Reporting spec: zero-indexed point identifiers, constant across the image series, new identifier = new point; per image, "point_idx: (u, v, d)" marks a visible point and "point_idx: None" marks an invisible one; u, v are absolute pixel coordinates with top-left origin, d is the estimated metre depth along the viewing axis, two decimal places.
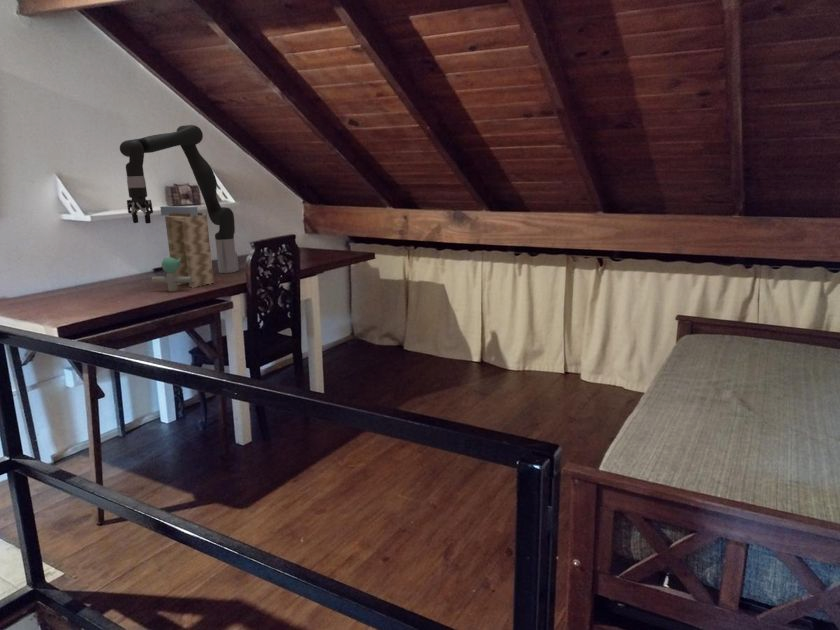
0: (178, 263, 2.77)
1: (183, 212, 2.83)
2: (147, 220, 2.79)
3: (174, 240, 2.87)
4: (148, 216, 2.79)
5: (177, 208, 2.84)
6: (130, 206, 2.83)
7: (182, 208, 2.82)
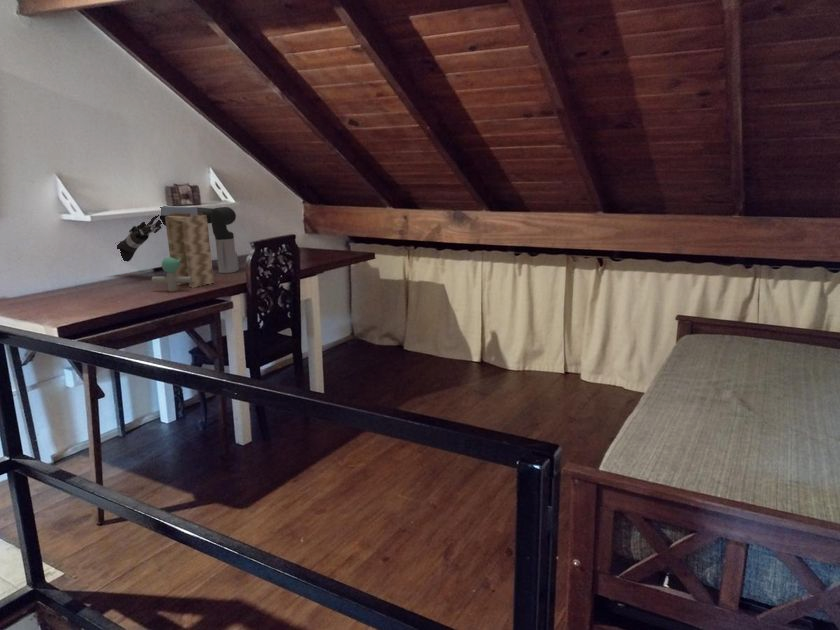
0: (178, 263, 2.77)
1: (183, 212, 2.83)
2: None
3: (174, 240, 2.87)
4: None
5: (177, 208, 2.84)
6: None
7: (182, 208, 2.82)
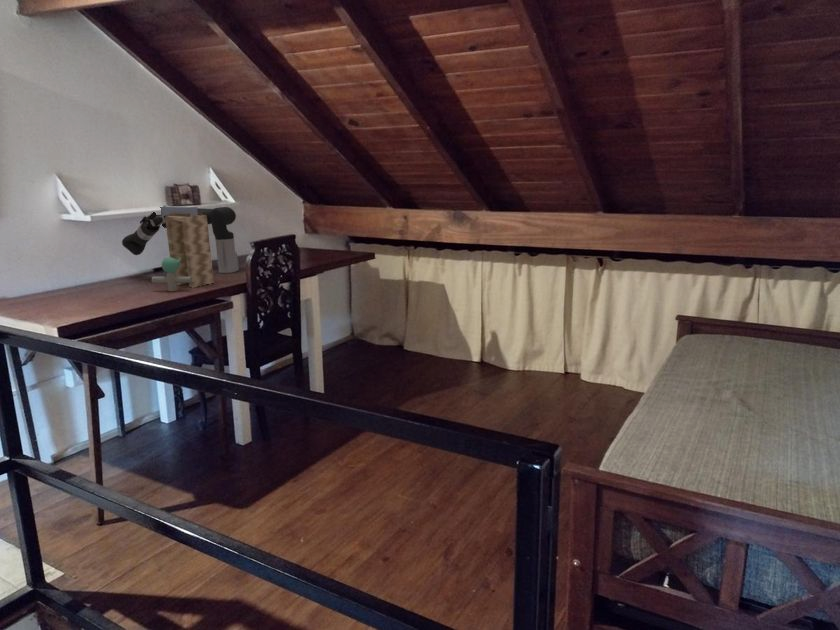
0: (178, 263, 2.77)
1: (183, 212, 2.83)
2: None
3: (174, 240, 2.87)
4: None
5: (177, 208, 2.84)
6: None
7: (182, 208, 2.82)
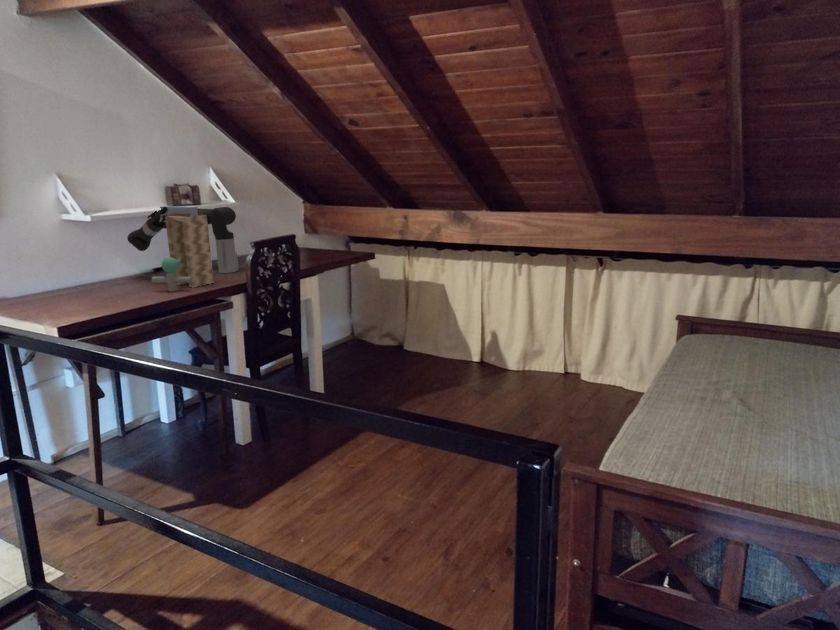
0: (178, 263, 2.77)
1: (183, 212, 2.83)
2: None
3: (174, 240, 2.87)
4: None
5: (177, 208, 2.84)
6: None
7: (182, 208, 2.82)
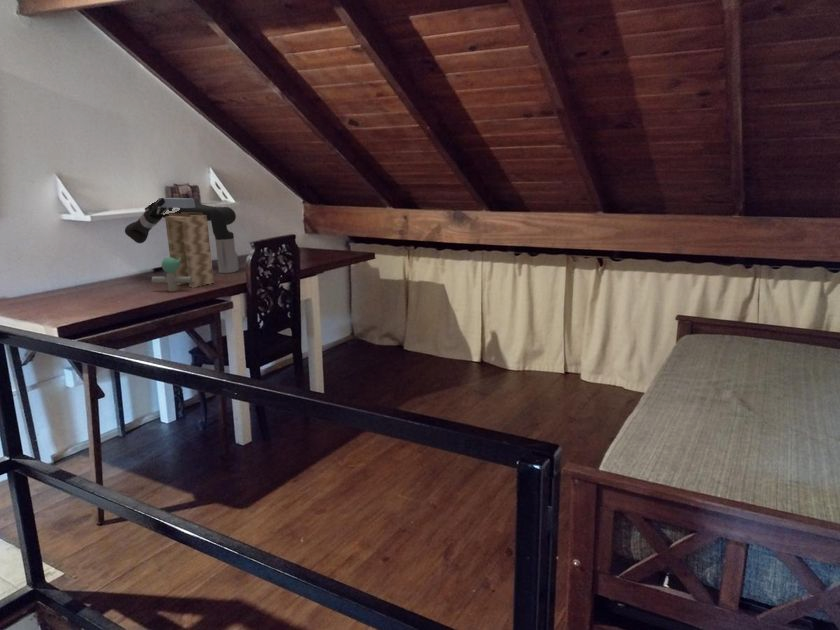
0: (178, 263, 2.77)
1: (180, 204, 2.82)
2: None
3: (174, 240, 2.87)
4: None
5: (174, 200, 2.84)
6: None
7: (179, 200, 2.82)
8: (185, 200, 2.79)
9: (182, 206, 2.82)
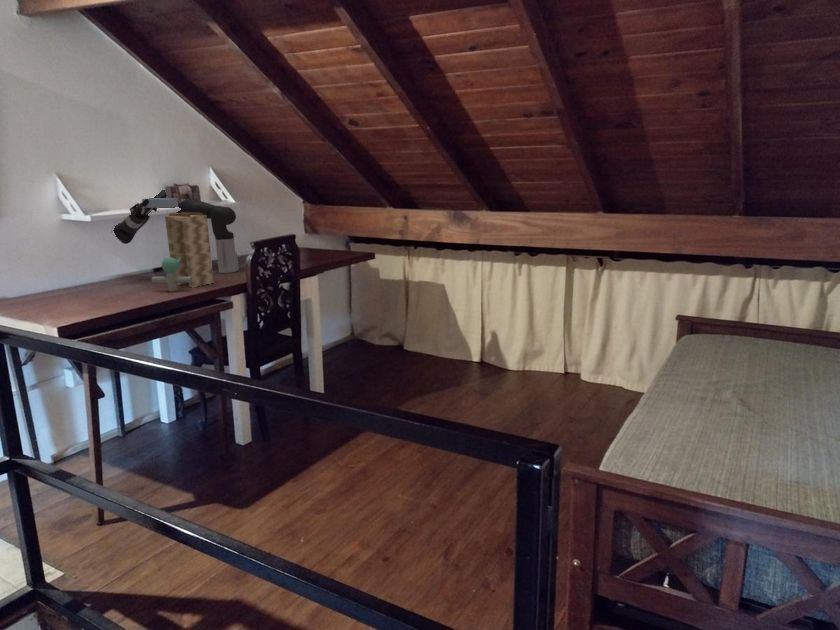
0: (178, 263, 2.77)
1: (164, 204, 2.87)
2: None
3: (174, 240, 2.87)
4: None
5: (158, 200, 2.89)
6: None
7: (163, 200, 2.87)
8: (168, 200, 2.85)
9: (165, 206, 2.87)
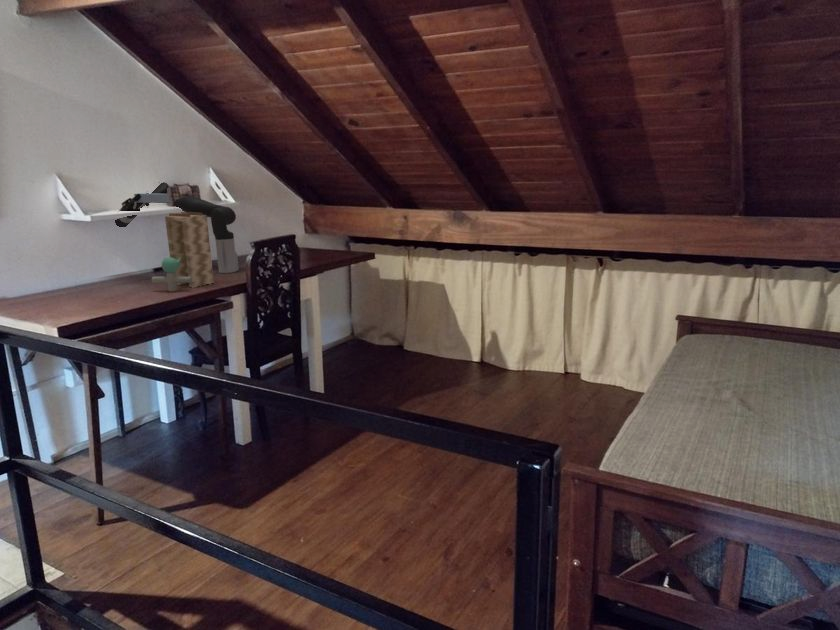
0: (178, 263, 2.77)
1: (155, 199, 2.90)
2: None
3: (174, 240, 2.87)
4: None
5: (150, 195, 2.92)
6: None
7: (154, 195, 2.90)
8: (160, 195, 2.88)
9: (157, 201, 2.90)
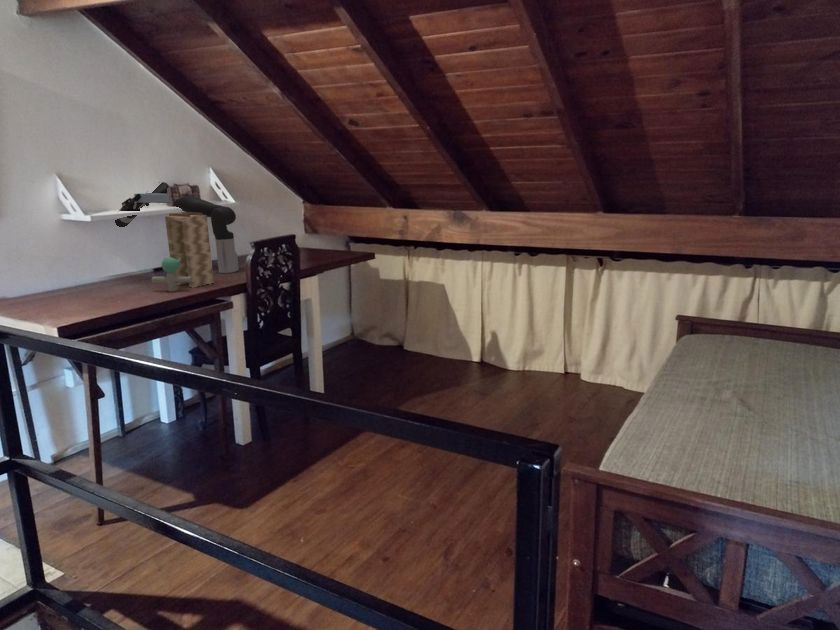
0: (178, 263, 2.77)
1: (155, 199, 2.90)
2: None
3: (174, 240, 2.87)
4: None
5: (150, 195, 2.92)
6: None
7: (154, 195, 2.90)
8: (160, 195, 2.88)
9: (157, 201, 2.90)
